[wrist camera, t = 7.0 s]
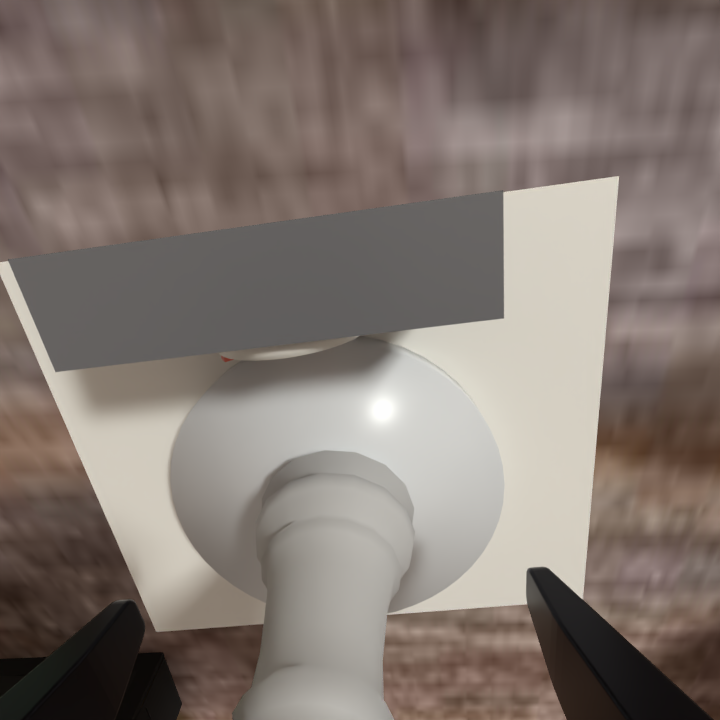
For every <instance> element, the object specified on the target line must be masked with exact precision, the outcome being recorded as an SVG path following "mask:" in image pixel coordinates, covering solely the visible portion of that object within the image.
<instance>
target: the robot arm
mask: <svg viewBox="0 0 720 720" xmlns="http://www.w3.org/2000/svg"><path fill="white" fill-rule="evenodd" d="M526 599H527V604H528V608H529V611H530V614H531V617H532V621H533V624H534V627H535V630H536V633H537V636H538V640H539V643H540V646H541V649H542V652H543V656H544V659H545V662H546V665H547V668H548V671H549V675H550V678H551V681H552V684H553V687H554V689H555V692H556V694H557V697H558V699H559V702H560V704H561V707H562V709H563V711H564V714H565V716H566V719H567V720H713V719H712V718H711V717H710V716H709V715H708V714H707V713H706V712H705V711H704V710H702V709H701V708H700V707H699V706H698V705H697V704H696V703H695V702H694V701H693V700H692V699H690V698H689V697H688V696H687V695H686V694H685V693H684V692H683V691H682V690H681V689H680V688H679V687H677V686H676V685H675V684H674V683H673V682H672V681H671V680H670V679H669V678H668V677H667V676H665V675H664V674H663V673H662V672H661V671H660V670H659V669H658V668H657V667H656V666H655V665H653V664H652V663H651V662H650V661H649V660H648V659H647V658H646V657H645V656H644V655H643V654H641V653H640V652H639V651H638V650H637V649H636V648H635V647H634V646H633V645H632V644H631V643H629V642H628V641H627V640H626V639H625V638H624V637H623V636H622V635H621V634H620V633H619V632H617V631H616V630H615V629H614V628H613V627H612V626H611V625H610V624H609V623H608V622H607V621H605V620H604V619H603V618H602V617H601V616H600V615H599V614H598V613H597V612H596V611H595V610H593V609H592V608H591V607H590V606H589V605H588V604H587V603H586V602H585V601H584V600H583V599H581V598H580V597H579V596H578V595H577V594H576V593H575V592H574V591H573V590H572V589H571V588H570V587H568V586H567V585H566V584H565V583H564V582H563V581H562V580H561V579H560V578H559V577H558V576H556V575H555V574H554V573H553V572H552V571H551V570H550V569H549V568H547V567H530V568H528V569H527V572H526ZM144 632H145V623H144V620H143V618H142V616H141V614H140V611H139V609H138V607H137V605H136V603H135V601H134V600H132V599H127V600H117V601H114V602H113V603H111V604H110V605H109V606H107V607H106V608H105V609H104V610H103V611H102V612H100V613H99V614H98V615H97V616H96V617H94V618H93V619H92V620H91V621H90V622H89V623H87V624H86V625H85V626H84V627H83V628H82V629H80V630H79V631H78V632H77V633H76V634H74V635H73V636H72V637H71V638H70V639H69V640H67V641H66V642H65V643H64V644H63V645H61V646H60V647H59V648H58V649H57V650H56V651H54V652H53V653H52V654H51V655H50V656H48V657H47V658H46V659H45V660H44V661H43V662H41V663H40V664H39V665H38V666H37V667H36V668H34V669H33V670H32V671H31V672H30V673H28V674H27V675H26V676H25V677H24V678H23V679H21V680H20V681H19V682H18V683H17V684H15V685H14V686H13V687H12V688H11V689H10V690H8V691H7V692H6V693H5V694H4V695H3V696H1V697H0V720H115V718H116V716H117V713H118V710H119V708H120V705H121V702H122V699H123V696H124V693H125V690H126V687H127V684H128V681H129V678H130V675H131V672H132V669H133V666H134V663H135V660H136V658H137V655H138V652H139V649H140V646H141V643H142V640H143V637H144Z"/></svg>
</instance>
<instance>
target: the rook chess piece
mask: <svg viewBox="0 0 720 720" xmlns="http://www.w3.org/2000/svg"><path fill="white" fill-rule="evenodd" d="M413 515H414V506H413V504H412V501H411V498H410V495H409V493H408V490H407V487H406V485H405V484H404V483H403V482H402V481H401V480H400V479H399V478H398V477H397V476H396V475H395V474H394V473H393V472H392V471H391V470H390V469H389V468H388V467H387V466H386V465H385V464H383V463H380V462H378V461H375V460H373V459H371V458H368V457H366V456H364V455H361V454H359V453H357V452H345V451H330V450H324V451H320V452H317V453H313V454H310V455H306V456H303V457H299V458H296V459H294V460H292V461H291V462H290V463H289V464H287V465H286V466H285V467H283V468H282V469H281V470H280V471H278V472H277V473H276V474H274V475H273V476H272V478H271V480H270V482H269V484H268V486H267V488H266V490H265V493H264V495H263V497H262V510H261V512H260V514H259V516H258V518H257V520H256V551H257V558H258V560H259V562H260V564H261V573H262V581H263V583H264V585H265V586H266V588H267V599H266V607H265V616H264V624H263V632H262V641H261V649H260V654H259V658H258V662H257V666H256V670H255V674H254V678H253V682H252V686H251V688H250V689H249V690H248V691H247V692H246V693H245V694H244V695H243V696H242V698H241V700H240V701H239V703H238V704H237V706H236V708H235V709H234V711H233V713H232V715H233V720H394V718H393V716H392V714H391V712H390V710H389V709H388V707H387V705H386V703H385V702H384V696H383V651H384V641H385V631H386V621H387V613H388V609H389V605H390V601H391V600H392V598H393V597H394V595H395V594H396V593H397V591H398V590H399V586H400V579H401V578H402V577H403V575H404V574H405V572H406V571H407V570H408V568H409V566H410V561H411V557H412V550H413V543H414V536H415V531H414V528H413V525H412V522H413Z"/></svg>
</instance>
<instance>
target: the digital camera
mask: <svg viewBox="0 0 720 720" xmlns="http://www.w3.org/2000/svg"><path fill="white" fill-rule="evenodd" d="M163 657H164V655H163V653H138V655H137V658H136V660H135V663H134V666H133V669H132V672H131V675H130V678H129V681H128V684H127V687H126V690H125V693H124V696H123V699H122V702H121V705H120V708H119V710H118V713H117V716H116V718H115V720H176V719H177V716H178V714H179V711H180V708H181V705H182V702H181V700H180V697H179V695H178V692H177V689H176V687H175V684H174V682H173V679H172V676H171V674H170V671H169V668H168V666H167V663H166V660H165V658H163ZM46 658H47V657H42V658H18V659H0V697H1V696H3V695H4V694H5V693H6V692H7V691H8V690H10V689H11V688H12V687H13V686H14V685H15V684H17V683H18V682H19V681H20V680H21V679H23V678H24V677H25V676H26V675H27V674H28V673H30V672H31V671H32V670H33V669H34V668H36V667H37V666H38V665H39V664H40V663H41V662H43V661H44V660H45V659H46ZM162 660H163V661H162ZM161 662H162V663H161ZM160 664H161V665H160ZM159 666H160V667H159ZM158 668H159V670H158ZM157 671H158V672H157ZM156 673H157V674H156ZM155 675H156V676H155ZM154 677H155V678H154ZM153 679H154V681H153ZM152 682H153V683H152ZM151 684H152V685H151Z"/></svg>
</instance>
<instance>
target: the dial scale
mask: <svg viewBox="0 0 720 720" xmlns="http://www.w3.org/2000/svg"><path fill="white" fill-rule="evenodd" d="M618 182H619V176H617V177H610V178H603V179H595V180H588V181H581V182H574V183H567V184H560V185H552V186H545V187H538V188H531V189H524V190H516V191H509V192H503V190H502V191H495V192H488V193H481V194H474V195H466V196H459V197H452V198H445V199H438V200H431V201H423V202H416V203H409V204H402V205H395V206H388V207H381V208H373V209H366V210H359V211H352V212H345V213H338V214H330V215H323V216H316V217H309V218H302V219H295V220H287V221H280V222H273V223H266V224H259V225H252V226H245V227H237V228H230V229H223V230H216V231H209V232H202V233H194V234H187V235H180V236H173V237H166V238H159V239H151V240H144V241H137V242H130V243H123V244H116V245H109V246H101V247H94V248H87V249H80V250H73V251H66V252H58V253H51V254H44V255H37V256H30V257H23V258H15V259H8V261H7V262H0V275H1V278H2V280H3V282H4V284H5V287H6V289H7V291H8V294H9V296H10V298H11V300H12V303H13V305H14V307H15V310H16V312H17V314H18V316H19V319H20V321H21V323H22V326H23V328H24V330H25V333H26V335H27V337H28V339H29V342H30V344H31V346H32V349H33V351H34V353H35V355H36V358H37V360H38V362H39V365H40V367H41V369H42V371H43V374H44V376H45V378H46V381H47V383H48V385H49V388H50V390H51V392H52V394H53V397H54V399H55V401H56V404H57V406H58V408H59V410H60V413H61V415H62V417H63V420H64V422H65V424H66V426H67V429H68V431H69V433H70V436H71V438H72V440H73V442H74V445H75V447H76V449H77V452H78V454H79V456H80V459H81V461H82V463H83V465H84V468H85V470H86V472H87V475H88V477H89V479H90V481H91V484H92V486H93V488H94V491H95V493H96V495H97V497H98V500H99V502H100V504H101V507H102V509H103V511H104V514H105V516H106V518H107V520H108V523H109V525H110V527H111V530H112V532H113V534H114V536H115V539H116V541H117V543H118V546H119V548H120V550H121V552H122V555H123V557H124V559H125V562H126V564H127V566H128V569H129V571H130V573H131V575H132V578H133V580H134V582H135V585H136V587H137V589H138V591H139V594H140V596H141V598H142V601H143V603H144V605H145V607H146V610H147V612H148V614H149V617H150V619H151V621H152V624H153V626H154V628H155V630H156V632H164V631H177V630H190V629H204V628H217V627H230V626H244V625H257V624H264V616H265V607H266V599H267V588H266V586H265V585H264V583H263V581H262V573H261V564H260V562H259V560H258V558H257V551H256V520H257V518H258V516H259V514H260V512H261V510H262V497H263V495H264V493H265V490H266V488H267V486H268V484H269V482H270V480H271V478H272V476H273V475H274V474H276V473H277V472H278V471H280V470H281V469H282V468H283V467H285V466H286V465H287V464H289V463H290V462H291V461H292V460H294V459H296V458H299V457H303V456H306V455H310V454H313V453H317V452H320V451H324V450H330V451H345V452H357V453H359V454H361V455H364V456H366V457H368V458H371V459H373V460H375V461H378V462H380V463H383V464H385V465H386V466H387V467H388V468H389V469H390V470H391V471H392V472H393V473H394V474H395V475H396V476H397V477H398V478H399V479H400V480H401V481H402V482H403V483H404V484H405V485H406V487H407V490H408V493H409V495H410V498H411V501H412V504H413V506H414V515H413V522H412V525H413V528H414V531H415V536H414V543H413V550H412V557H411V561H410V566H409V568H408V570H407V571H406V572H405V574H404V575H403V577H402V578H401V579H400V586H399V590H398V591H397V593H396V594H395V595H394V597H393V598H392V600H391V601H390V605H389V609H388V613H387V615H389V614H403V613H416V612H429V611H443V610H456V609H469V608H482V607H496V606H509V605H522V604H527V599H526V572H527V569H528V568H530V567H547V568H549V569H550V570H551V571H552V572H553V573H554V574H555V575H556V576H558V577H559V578H560V579H561V580H562V581H563V582H564V583H565V584H566V585H567V586H568V587H570V588H571V589H572V590H573V591H574V592H575V593H576V594H577V595H578V596H579V597H580V598H581V599H583V591H584V579H585V568H586V556H587V544H588V533H589V521H590V509H591V497H592V486H593V474H594V462H595V451H596V439H597V427H598V416H599V404H600V392H601V381H602V369H603V357H604V346H605V334H606V322H607V310H608V299H609V287H610V275H611V264H612V252H613V240H614V229H615V217H616V205H617V194H618Z"/></svg>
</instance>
